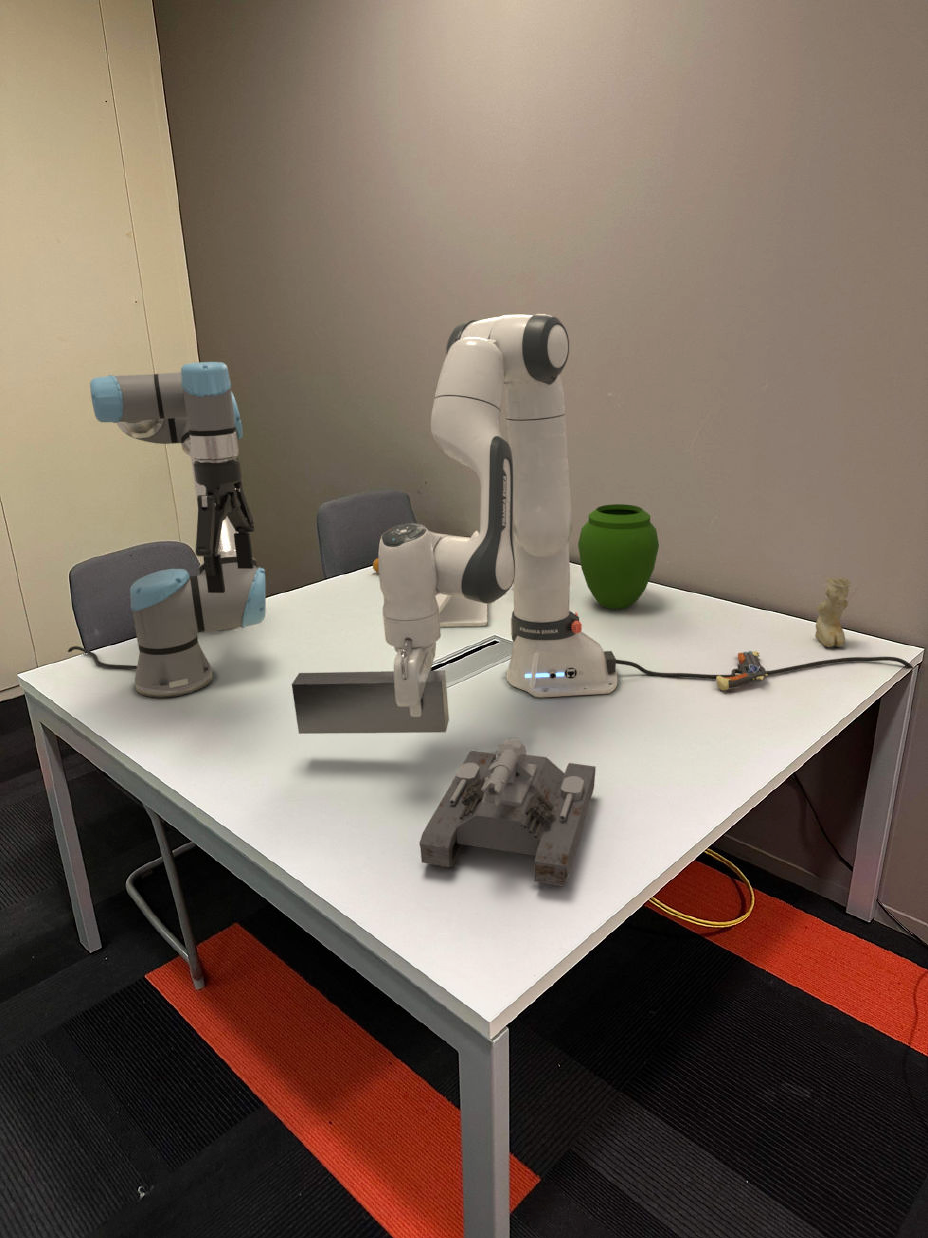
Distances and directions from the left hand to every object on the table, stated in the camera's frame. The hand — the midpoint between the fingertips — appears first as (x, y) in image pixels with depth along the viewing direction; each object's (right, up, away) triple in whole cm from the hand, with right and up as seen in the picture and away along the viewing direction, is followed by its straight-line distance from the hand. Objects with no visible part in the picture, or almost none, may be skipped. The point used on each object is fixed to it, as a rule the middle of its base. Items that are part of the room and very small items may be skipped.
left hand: (232, 579), depth 150 cm
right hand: (+34, -21, -11) cm, 41 cm away
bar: (+26, -25, -8) cm, 37 cm away
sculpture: (+121, -12, +37) cm, 127 cm away
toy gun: (+97, -18, +24) cm, 101 cm away
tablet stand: (+38, -4, +65) cm, 75 cm away
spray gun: (+23, +7, +97) cm, 100 cm away
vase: (+79, -3, +64) cm, 102 cm away
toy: (+48, -38, -25) cm, 66 cm away
